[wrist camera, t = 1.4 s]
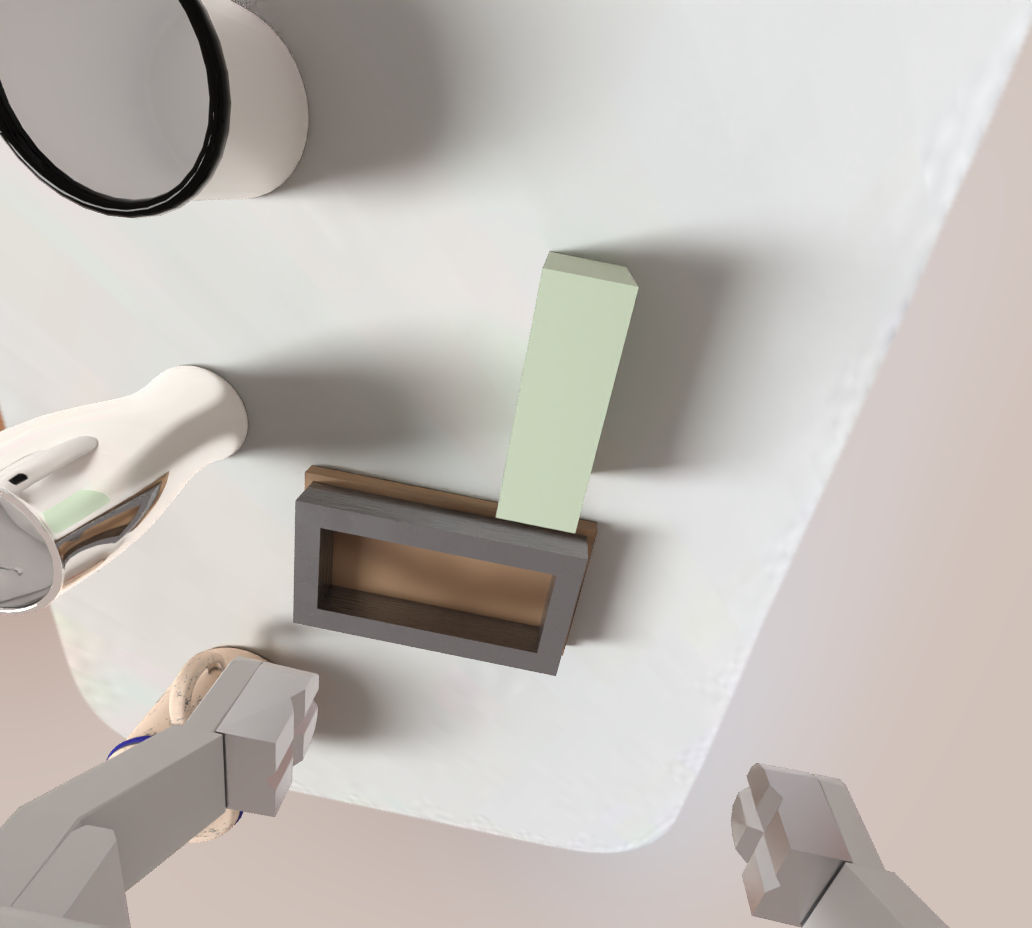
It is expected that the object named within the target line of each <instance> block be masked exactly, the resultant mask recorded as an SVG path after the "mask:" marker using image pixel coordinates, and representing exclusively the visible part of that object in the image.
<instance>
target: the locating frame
mask: <svg viewBox="0 0 1032 928" xmlns="http://www.w3.org/2000/svg"><path fill="white" fill-rule="evenodd" d="M497 508H498V503H497V502H492V501H487V500H482V499H477V498H472V497H467V496H462V495H457V494H452V493H447V492H442V491H437V490H432V489H427V488H422V487H417V486H412V485H407V484H402V483H397V482H392V481H387V480H382V479H377V478H372V477H367V476H362V475H357V474H352V473H347V472H342V471H337V470H332V469H327V468H322V467H317V466H313V465H312V466H311V467H310V468H309V469H308V470H307V471H306V472H305V491H304V492H303V493H302V494H301V495H300V496H299V497H298V498H297V500H296V505H295V558H294V611H293V623H298V624H303V625H308V626H313V627H318V628H322V629H327V630H332V631H337V632H342V633H347V634H352V635H357V636H362V637H367V638H372V639H377V640H382V641H386V642H391V643H396V644H401V645H406V646H411V647H416V648H421V649H426V650H431V651H436V652H441V653H445V654H450V655H455V656H460V657H465V658H470V659H475V660H480V661H485V662H490V663H495V664H500V665H505V666H509V667H514V668H519V669H524V670H529V671H534V672H539V673H544V674H549V675H554V676H556V674H557V670H558V666H559V663H560V659H561V655H563V653H564V649H565V646H566V642H567V639H568V635H569V631H570V628H571V624H572V620H573V617H574V613H575V610H576V606H577V602H578V599H579V595H580V592H581V588H582V584H583V581H584V577H585V573H586V570H587V566H588V563H589V559H590V555H591V552H592V548H593V544H594V541H595V537H596V534H597V523H596V522H591V521H586V520H581V519H579V521H578V524H577V528H576V532H575V533H570V532H565V531H560V530H555V529H550V528H545V527H540V526H535V525H530V524H525V523H520V522H515V521H510V520H505V519H500V518H496V513H497Z"/></svg>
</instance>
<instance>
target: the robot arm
mask: <svg viewBox="0 0 1032 928" xmlns="http://www.w3.org/2000/svg"><path fill="white" fill-rule="evenodd" d="M318 689H319V675H318V674H316V673H312V672H308V671H303V670H299V669H295V668H290V667H286V666H282V665H277V664H273V663H269V662H263V661H258V660H254V659H250V658H245V657H241V656H238V657H236V658H235V659H234V660H232V661H231V662H230V663H229V664H228V666H227V667H226V668H225V670H224V671H223V672H222V674H221V675H220V676H219V678H218V679H217V680H216V682H215V683H214V684H213V686H212V687H211V688H210V690H209V691H208V692H207V694H206V695H205V697H204V698H203V699H202V701H201V702H200V703H199V705H198V706H197V707H196V709H195V710H194V711H193V713H192V714H191V715H190V717H189V718H188V719H187V721H186V722H185V723H184V725H183V726H180V725H175V724H174V725H173V726H171V727H169V728H167V729H165V730H163V731H161V732H159V733H157V734H156V735H154V736H152V737H150V738H148V739H146V740H144V741H142V742H141V743H139V744H137V745H135V746H133V747H131V748H129V749H127V750H126V751H124V752H122V753H120V754H118V755H116V756H114V757H112V758H111V759H109V760H107V761H105V762H103V763H101V764H99V765H98V766H96V767H94V768H92V769H90V770H88V771H86V772H85V773H82V774H80V775H79V776H77V777H75V778H73V779H71V780H69V781H67V782H65V783H64V784H62V785H60V786H58V787H56V788H54V789H53V790H51V791H49V792H47V793H45V794H43V795H41V796H39V797H37V798H36V799H34V800H32V801H30V802H28V803H26V804H24V805H22V806H20V807H19V808H18V809H17V810H16V811H15V812H14V814H12V815H11V817H10V818H9V819H8V820H7V821H6V822H5V824H3V825H2V826H1V828H0V928H131V926H130V920H129V914H128V907H127V901H126V895H125V892H126V891H127V890H128V889H130V888H131V887H132V886H133V885H135V884H136V883H137V882H139V881H140V880H141V879H142V878H144V877H145V876H146V875H147V874H149V873H150V872H151V871H152V870H153V869H155V868H156V867H157V866H159V865H160V864H161V863H162V862H164V861H165V860H166V859H167V858H169V857H170V856H171V855H172V854H173V853H175V852H176V851H177V850H178V849H180V848H181V847H182V846H184V845H185V844H186V843H187V842H189V841H190V840H191V839H192V838H194V837H195V836H196V835H197V834H199V833H200V832H201V831H202V830H204V829H205V828H206V827H207V826H209V825H210V824H211V823H212V822H214V821H215V820H216V819H217V818H219V817H220V816H221V815H222V814H224V813H225V812H226V809H232V810H238V811H243V812H249V813H255V814H261V815H267V816H272V817H275V816H276V814H277V812H278V810H279V808H280V806H281V804H282V801H283V799H284V798H285V795H286V793H287V791H288V789H289V787H290V785H291V783H292V771H293V766H294V765H296V764H297V763H299V762H300V761H302V760H303V758H304V756H305V754H306V752H307V750H308V748H309V745H310V742H311V739H312V736H313V733H314V730H315V726H316V721H317V714H318V706H317V704H316V703H315V702H314V700H313V699H314V697H315V695H316V693H317V691H318ZM747 779H748V783H749V786H750V787H748V788H746V789H744V790H742V791H740V792H739V793H738V795H737V797H736V799H735V801H734V804H733V808H732V817H731V827H732V836H733V840H734V845H735V849H736V850H737V851H738V853H739V854H740V855H741V856H742V858H743V859H744V860H745V861H746V863H747V865H746V867H745V869H744V871H743V874H742V878H743V882H744V886H745V890H746V893H747V898H748V902H749V906H750V910H751V914H752V916H756V917H760V918H764V919H768V920H773V921H777V922H781V923H785V924H790V925H794V926H798V927H802V928H949V927H948V926H947V925H946V924H945V923H944V922H943V921H942V920H941V919H940V918H939V917H938V916H937V915H936V914H935V913H934V912H933V911H932V910H931V909H930V908H929V907H928V906H927V905H926V904H925V903H924V902H923V901H922V900H921V899H920V898H919V897H918V896H917V895H916V894H915V893H914V892H913V891H912V890H911V889H910V888H909V887H908V886H907V885H906V884H905V883H904V882H903V881H902V880H901V879H900V878H899V877H898V876H897V875H896V874H895V873H894V872H890V871H886V870H885V868H884V866H883V864H882V862H881V860H880V857H879V855H878V853H877V851H876V849H875V847H874V844H873V842H872V840H871V838H870V836H869V834H868V831H867V829H866V827H865V825H864V823H863V821H862V819H861V816H860V814H859V812H858V810H857V808H856V806H855V803H854V802H853V799H852V797H851V795H850V793H849V791H848V788H847V786H846V785H845V784H844V783H843V782H842V781H841V780H840V779H837V778H831V777H826V776H821V775H816V774H810V773H807V772H802V771H797V770H791V769H787V768H781V767H776V766H770V765H766V764H760V763H756V764H755V765H753V766H752V767H751V769H750V771H749V773H748V775H747Z"/></svg>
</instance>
